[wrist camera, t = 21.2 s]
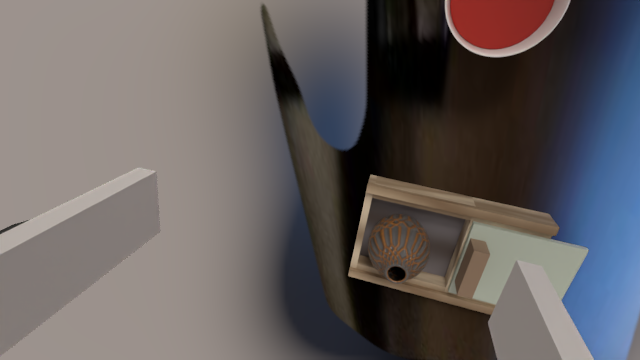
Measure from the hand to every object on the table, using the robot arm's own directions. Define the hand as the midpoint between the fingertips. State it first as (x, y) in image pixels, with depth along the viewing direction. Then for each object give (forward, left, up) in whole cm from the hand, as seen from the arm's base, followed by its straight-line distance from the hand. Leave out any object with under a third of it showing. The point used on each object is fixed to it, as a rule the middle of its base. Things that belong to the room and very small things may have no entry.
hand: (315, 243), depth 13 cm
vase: (+15, +6, -28) cm, 32 cm away
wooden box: (+15, +11, -29) cm, 34 cm away
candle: (-11, +8, -29) cm, 32 cm away
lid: (+15, +18, -26) cm, 35 cm away
